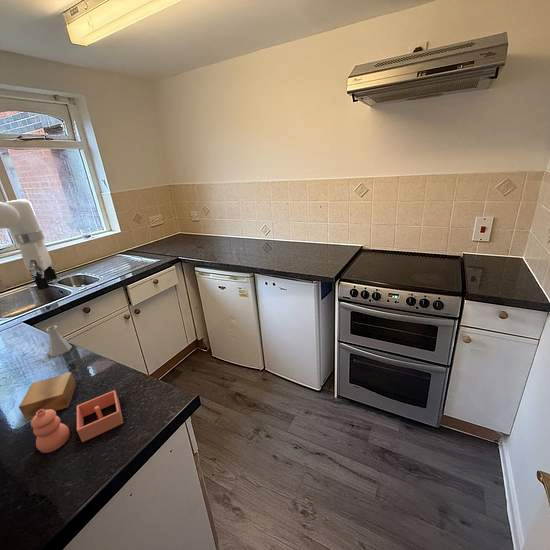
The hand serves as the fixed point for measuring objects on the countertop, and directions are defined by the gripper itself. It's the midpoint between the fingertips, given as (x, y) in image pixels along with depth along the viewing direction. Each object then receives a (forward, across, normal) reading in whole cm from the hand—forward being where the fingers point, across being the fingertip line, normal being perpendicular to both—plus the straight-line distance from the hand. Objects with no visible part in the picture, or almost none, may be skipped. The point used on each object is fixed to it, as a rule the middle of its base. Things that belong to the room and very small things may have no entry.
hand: (48, 284), depth 107 cm
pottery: (+25, +51, +13) cm, 58 cm away
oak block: (+24, +36, +2) cm, 43 cm away
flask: (+25, +6, -2) cm, 25 cm away
